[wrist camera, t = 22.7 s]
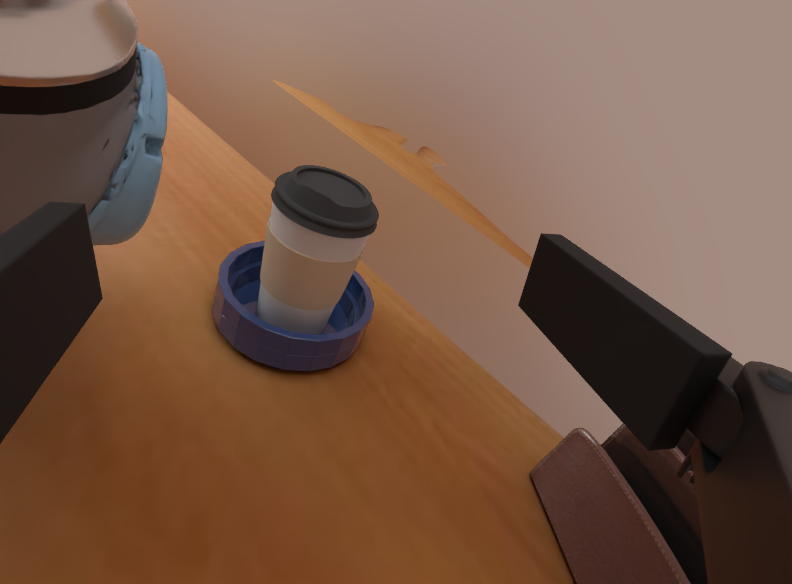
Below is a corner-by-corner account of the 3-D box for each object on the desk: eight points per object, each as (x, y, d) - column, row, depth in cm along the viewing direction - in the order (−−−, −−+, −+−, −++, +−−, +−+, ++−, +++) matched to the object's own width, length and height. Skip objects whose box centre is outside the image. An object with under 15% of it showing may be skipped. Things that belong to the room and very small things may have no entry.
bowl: (183, 343, 37) (188, 303, 35) (244, 258, 49) (252, 224, 47) (346, 395, 39) (362, 361, 37) (367, 301, 51) (380, 271, 49)
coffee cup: (276, 275, 48) (311, 146, 40) (349, 314, 47) (400, 191, 39) (224, 317, 40) (254, 168, 32) (310, 364, 40) (362, 224, 32)
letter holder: (608, 476, 44) (715, 384, 36) (773, 767, 28) (1019, 715, 21) (526, 472, 40) (625, 370, 32) (664, 802, 25) (911, 755, 17)
